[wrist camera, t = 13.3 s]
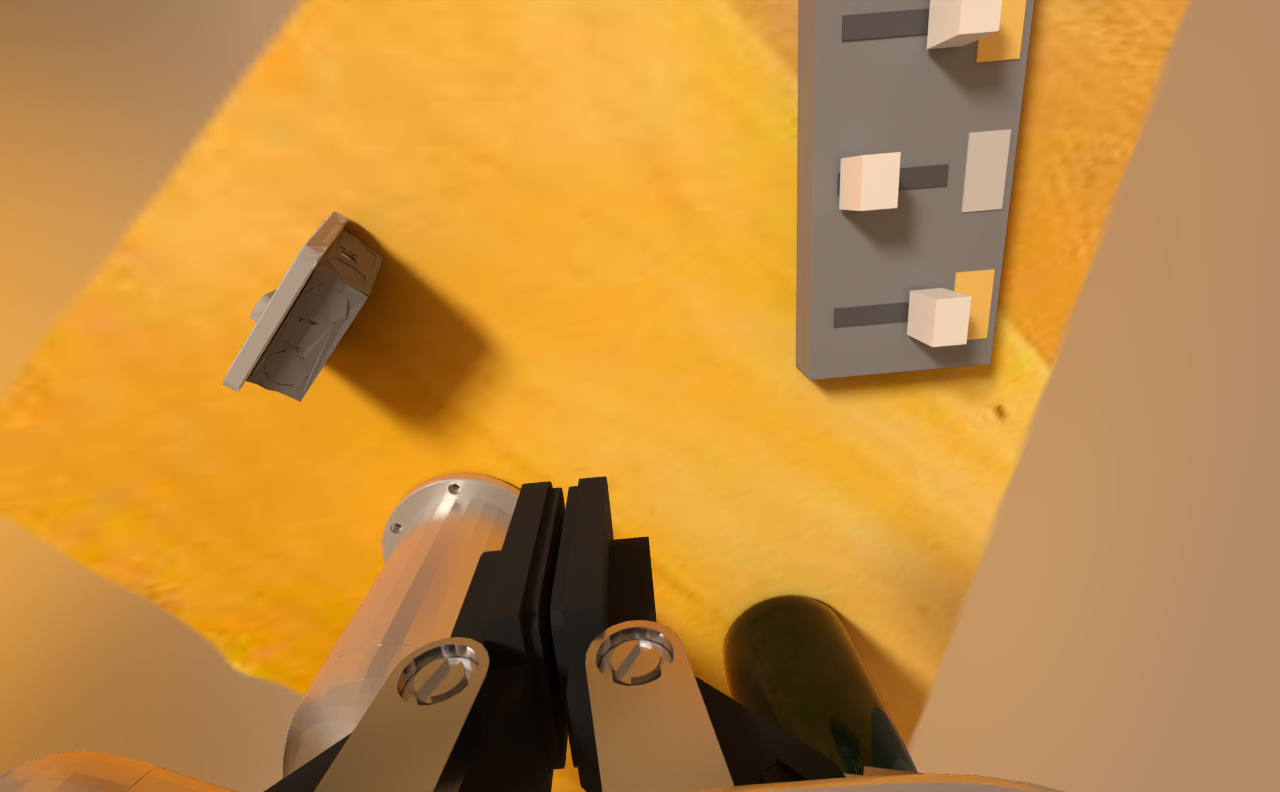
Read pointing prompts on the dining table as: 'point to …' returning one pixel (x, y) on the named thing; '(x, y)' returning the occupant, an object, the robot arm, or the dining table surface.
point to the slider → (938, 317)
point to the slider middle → (869, 182)
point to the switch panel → (901, 180)
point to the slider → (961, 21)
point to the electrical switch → (307, 312)
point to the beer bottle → (811, 683)
